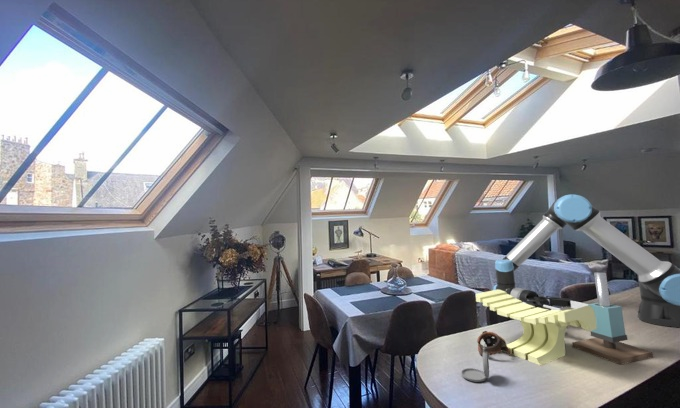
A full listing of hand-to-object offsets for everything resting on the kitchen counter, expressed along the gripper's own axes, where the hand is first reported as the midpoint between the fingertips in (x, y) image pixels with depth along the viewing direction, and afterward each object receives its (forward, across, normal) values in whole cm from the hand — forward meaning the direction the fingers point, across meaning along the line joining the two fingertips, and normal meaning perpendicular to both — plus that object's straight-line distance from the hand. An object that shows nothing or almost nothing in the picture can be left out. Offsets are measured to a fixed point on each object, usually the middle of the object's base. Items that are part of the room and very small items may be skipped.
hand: (575, 310), depth 105 cm
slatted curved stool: (+1, +22, -11) cm, 24 cm away
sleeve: (+10, 0, -5) cm, 11 cm away
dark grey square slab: (+10, 0, -6) cm, 12 cm away
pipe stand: (+10, 0, -11) cm, 14 cm away
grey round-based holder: (+9, +51, -11) cm, 53 cm away
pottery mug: (-3, +35, -11) cm, 37 cm away
